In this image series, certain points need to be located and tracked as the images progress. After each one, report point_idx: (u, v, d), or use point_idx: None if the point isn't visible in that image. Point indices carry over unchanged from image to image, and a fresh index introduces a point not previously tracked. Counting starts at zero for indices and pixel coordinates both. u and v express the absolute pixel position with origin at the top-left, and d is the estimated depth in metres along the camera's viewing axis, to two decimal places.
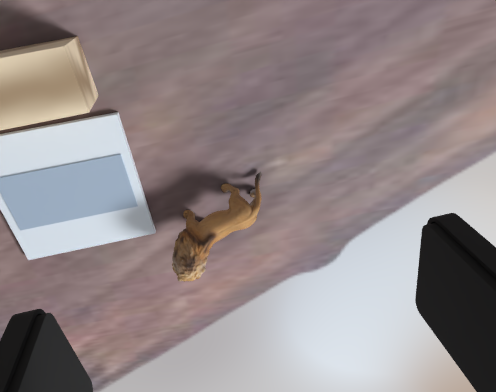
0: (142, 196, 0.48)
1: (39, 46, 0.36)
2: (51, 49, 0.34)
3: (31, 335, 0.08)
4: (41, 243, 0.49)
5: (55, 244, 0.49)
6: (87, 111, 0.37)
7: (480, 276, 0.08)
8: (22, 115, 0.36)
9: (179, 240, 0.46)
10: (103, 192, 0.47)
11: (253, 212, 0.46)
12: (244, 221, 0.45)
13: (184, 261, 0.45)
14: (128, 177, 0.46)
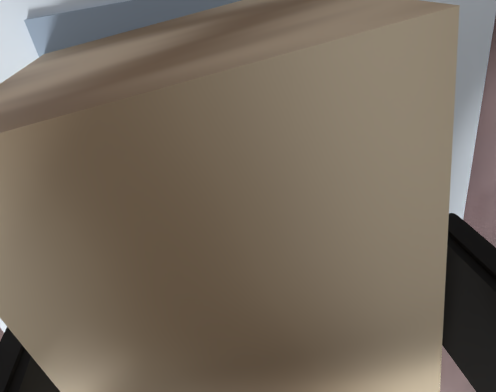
0: None
1: None
2: None
3: None
4: None
5: None
6: None
7: (479, 276, 0.08)
8: None
9: None
10: None
11: None
12: None
13: None
14: None
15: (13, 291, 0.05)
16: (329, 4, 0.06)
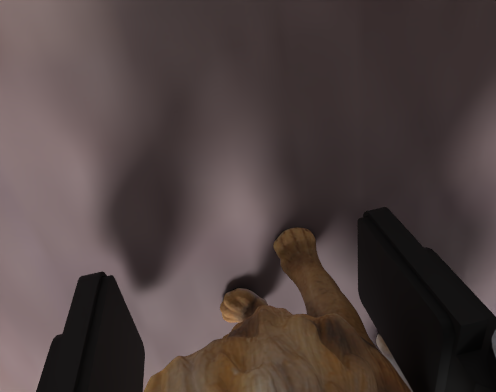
0: None
1: None
2: None
3: (100, 293, 0.09)
4: None
5: None
6: None
7: (397, 265, 0.08)
8: None
9: (376, 387, 0.06)
10: None
11: None
12: None
13: None
14: None
15: None
16: None
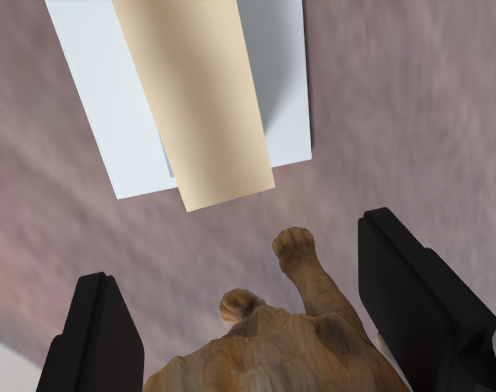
0: None
1: None
2: (270, 172, 0.26)
3: (100, 293, 0.09)
4: (82, 9, 0.25)
5: (81, 35, 0.25)
6: (188, 210, 0.26)
7: (397, 264, 0.08)
8: (173, 127, 0.23)
9: (375, 386, 0.06)
10: None
11: None
12: None
13: None
14: None
15: (130, 33, 0.20)
16: None
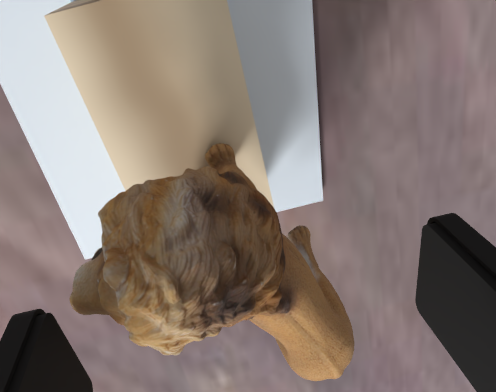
0: None
1: None
2: None
3: (31, 335, 0.08)
4: (21, 27, 0.18)
5: (23, 62, 0.19)
6: None
7: (480, 276, 0.08)
8: None
9: (248, 194, 0.11)
10: None
11: None
12: (337, 370, 0.15)
13: (235, 271, 0.09)
14: None
15: (79, 69, 0.14)
16: None
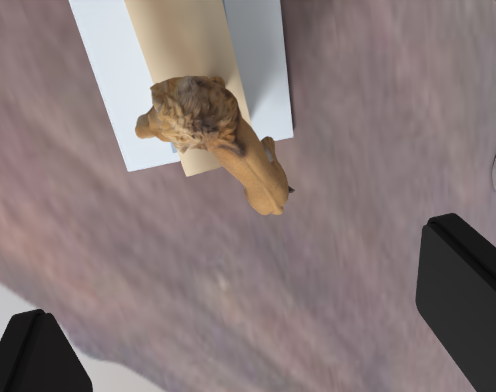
0: None
1: None
2: None
3: (31, 335, 0.08)
4: (100, 11, 0.30)
5: (99, 32, 0.31)
6: (187, 175, 0.31)
7: (480, 276, 0.08)
8: None
9: (221, 87, 0.23)
10: None
11: (282, 209, 0.27)
12: (274, 202, 0.26)
13: (208, 109, 0.21)
14: None
15: (140, 29, 0.26)
16: None
